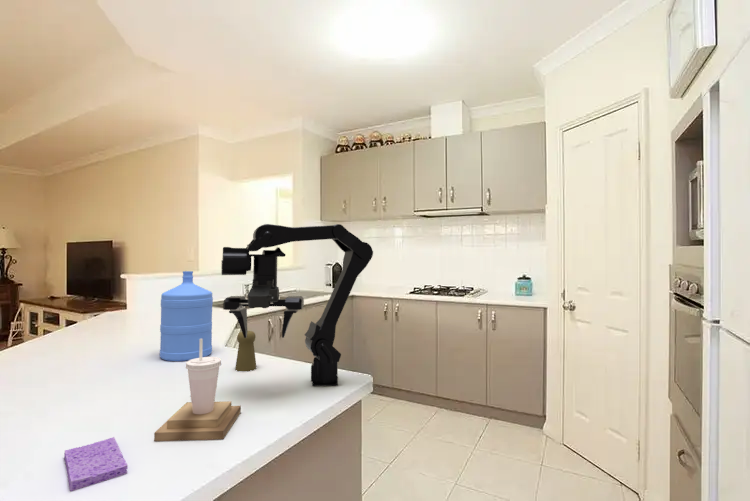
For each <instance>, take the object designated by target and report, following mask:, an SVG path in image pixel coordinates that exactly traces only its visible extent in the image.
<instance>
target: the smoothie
mask: <svg viewBox="0 0 750 501" xmlns="http://www.w3.org/2000/svg"><path fill="white" fill-rule="evenodd" d="M202 350H203V339H200V344H199V358H195V359H191V360H188V361H185V369H186V370H187V373H188V374H187V375H188V376H187V377H188V383H189V384H188V385H189V392H190V402H192V410H193V413H194V414H206V413H209V412H211V411H213V408H214V402H216V401H215V400H216V393H217V387H218V378H219V374H220V373H219V372H220V366H222V358H220V357H216V356H206V357H202Z"/></svg>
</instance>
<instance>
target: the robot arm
mask: <svg viewBox="0 0 750 501" xmlns="http://www.w3.org/2000/svg"><path fill="white" fill-rule="evenodd" d="M319 240H321V241H323V240H332V241H334V243H335V244H336V245H337V246H338V248H339V249H340V250H341V251H342V252H343V253H344V256H343V259H342V269H341V272H340V274H339V277H338V279H337V281H336V283H335V285H334V288H333V290H332V293H331V294H330V297H329V299H328V301H327V303H326V305H325V308H324V310H323V312H322V314H321V317H320V318H319V319H318V320H317V321H316V322H314V321H310V323H309V327H308V329H307V330H306V332H305V333H304V336H305V339H304V343H305V346H306V348H307V350H308V351H309V352H311V353H312V355H313V357H314V358H313V361H312V364H311V366H310V382H312V383H311V384H312V386H313V387H329V386H330V387H334V386H339V376H338V373H339V372H338V367H339V366H338V365H339V364H338V363H339V362H340V360H341V357H342V353H341V352H340V351H338V350H337V348H336V347H334V343H335V338H336V330H337V329H336V328H337V323H338V322H339V319H340V316H341V315H342V312H343V310H344V308H345V305H346V303H347V301H348V299H349V296H350V294H351V292H352V289H353V287H354V285H355V283H356V280H357V279H358V277H359V275H360V274H361V273H362V272H363V271H364V270H365V269H366V267H367V266H368V264H369V263H370V261H371V260H372V259H373V256H374V250H373V248H372V246H371V245H370V243H368V242H365V241H363V240H361V239H360V238H359V237H358V236H356V235H355V234H353V233H352V232H350V231H349V230H348V229H347V228H346V227H344V225H342V224H340V223H339V224H338V223H336V224H332V225H330V224H329V225H313V226H311V225H310V226H296V227H295V226H294V227H293V226H284V225H279V224H271V223H264V224H261V225H259V226H257V227H256V229H255V230H254V231H253V234H252V240H251V241H250V242H249V244H246V248H245V247H230V246H223V248H222V259H221V266H220V267H221V276H247V272H250V271H252V257H253V272H252V273H253V274H252V275H253V278H252V283H251V284H252V285H251V288H250V290H249V291H248V293H247V298H246V296H245V295H233V296H232V295H231V296H227V297H225V299H224V300H223V306H222V308H223V311H224V310H225V311H228V313H229V314H233V315H234V317H235V318H236V320H237V322H238V324H239V327H240V330H241V332H242V333H243V336H244V338H246V337H247V331H248V310H247V307H248V308H249V309H255V308H262V309H268V308H270V307H285V310H283V321H282V329H281V338H282V339H283V338H285V336H286V333H287V330H288V327H289V325H290V321H291V318H292V317H293V315H294V314H296V313H297V312H298V311H299V310H303V308H304V306H305V304H304V303H305V299H304V297H303V296H302V295H300V296H299V295H296V296H295V295H291V296H290V295H288V296H286V297H285V298H280V288H279V286H278V257H280V258H282V257H286V253H284V251H282V249H281V248H280V247H276V246H281V245H285V244H288V243H292V242H305V241H308V242H309V241H319ZM272 247H276V248H275V249H266V248H272ZM263 248H264V249H263ZM261 249H263V250H262V253H261V254H253V253H252V254H251V253H250V252H258V251H259V250H261Z"/></svg>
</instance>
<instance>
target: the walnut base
mask: <svg viewBox="0 0 750 501" xmlns="http://www.w3.org/2000/svg"><path fill="white" fill-rule="evenodd" d="M232 404H233V402H232V401H230V400H229V401H214V408H213V411H211V412H209V413H206V414H194V413H193V410H192V402H191V401H189V402H188V401H187V402H186V403H185V404H183V405H182V406H181V407H180V408H179V409H178V410H177V411H175V413H174V414H172V416H170V417H169V418H168V419H167V420H166V421H165V422H164V423H163V424H162V425H161V426H160V427H159V428H158V429H157V430H156V431H154V432H153V435H154V438H153V441H154V442H171V441H172V442H173V441H175V442H176V441H205V440H206V441H207V440H208V441H209V440H211V441H212V440H224V439H225V437H226V435H227V434H228V433H229V431H230V429H231V428H232V427H233V425H234V424H235V422H236V421H237V419H238V417H239V416H240V414H242V412H241V411H242V410H241V409H242V407H241V405H232Z"/></svg>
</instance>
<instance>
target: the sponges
mask: <svg viewBox="0 0 750 501" xmlns="http://www.w3.org/2000/svg"><path fill="white" fill-rule="evenodd" d="M63 457H64V462H65V466H66V473H67V478H68V487H69V491H70V492H73V491H76V490H79V489H82V488H86V487H89V486H92V485H95V484H98V483H101V482H104V481H107V480H108V481H109V480H110V479H114V478H117V477H120V476H122V475H126V474H128V466H129V465H128V463H127V462H126V459H125V457H124V455H123V453H122V451H121V449H120V447H119V443H118V442H117V440H116V438H115V436H113V437H109V438H107V439H104V440H100V441H96V442H93V443H90V444H86V445H81V446H79V447H73V448H69V449H65V450H64V455H63Z"/></svg>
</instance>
